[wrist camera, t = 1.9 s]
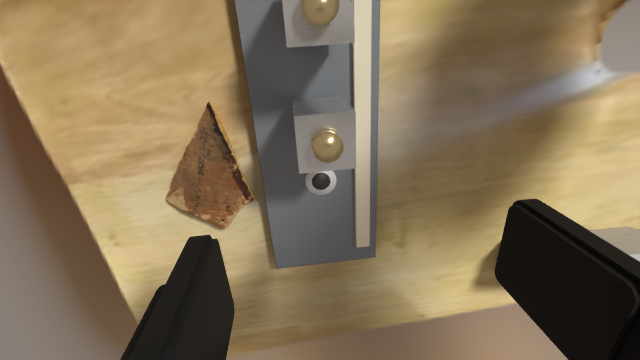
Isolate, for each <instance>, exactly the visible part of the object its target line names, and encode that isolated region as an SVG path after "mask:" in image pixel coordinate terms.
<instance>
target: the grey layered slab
mask: <svg viewBox="0 0 640 360" xmlns="http://www.w3.org/2000/svg"><path fill="white" fill-rule="evenodd" d="M589 231H591V232H592V233H594V234H595V235H597V236H599V237H600V238H602V239H604V240H605V241H607V242H609V243H610V244H612V245H613V246H615V247H617V248H618V249H620V250H622V251H623V252H625V253H626V254H628V255H630V256H631V257H633V258H635V259H636V260H638V261H640V230H639V229H635V228H631V227H617V228H606V229H596V230H589Z"/></svg>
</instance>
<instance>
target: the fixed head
mask: <svg viewBox="0 0 640 360" xmlns="http://www.w3.org/2000/svg"><path fill="white" fill-rule="evenodd" d="M282 5H283V15H284V25H285V35H286V45H287V48H290V47H305V46H319V45H333V44H348V43H355V26H354V0H282Z"/></svg>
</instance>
